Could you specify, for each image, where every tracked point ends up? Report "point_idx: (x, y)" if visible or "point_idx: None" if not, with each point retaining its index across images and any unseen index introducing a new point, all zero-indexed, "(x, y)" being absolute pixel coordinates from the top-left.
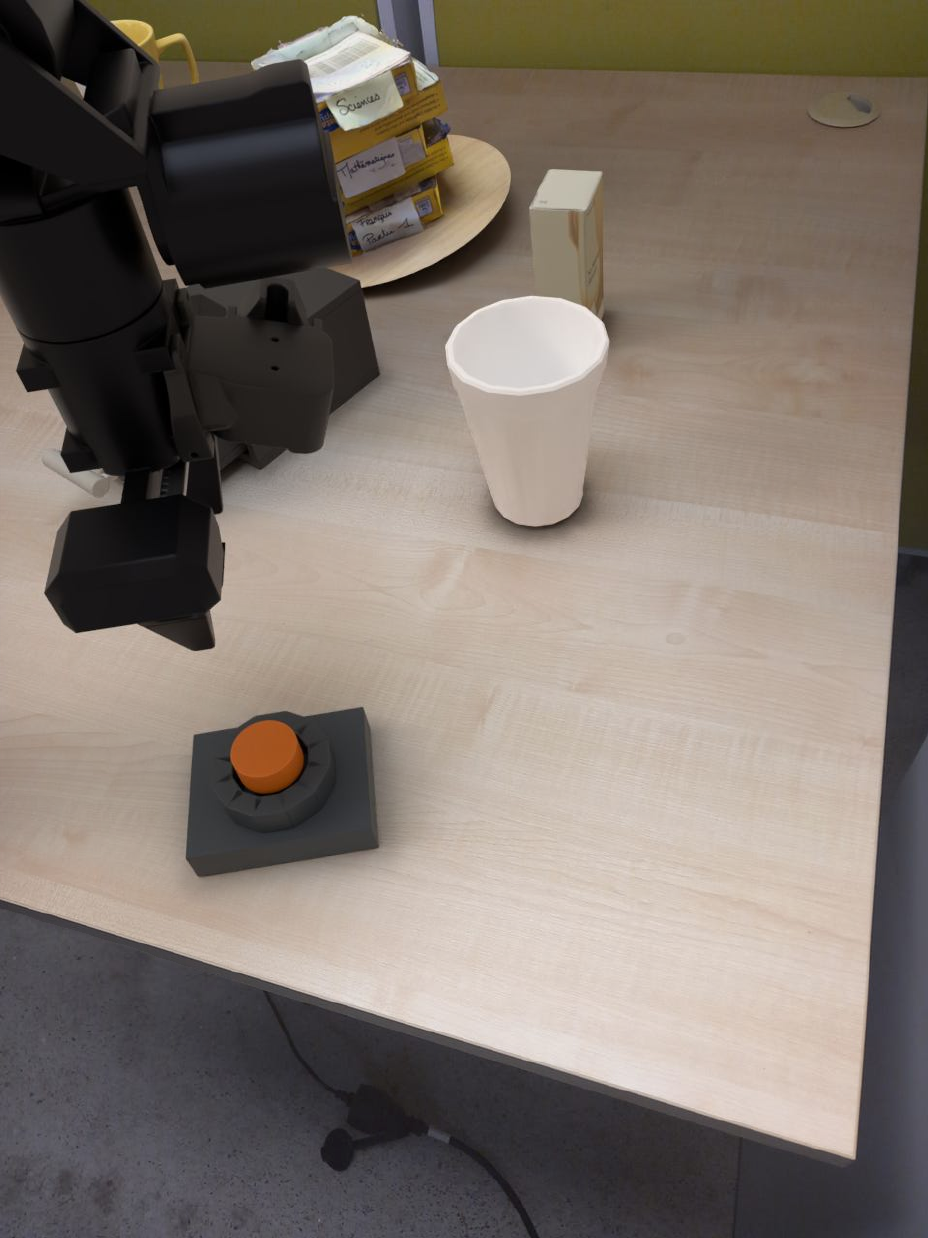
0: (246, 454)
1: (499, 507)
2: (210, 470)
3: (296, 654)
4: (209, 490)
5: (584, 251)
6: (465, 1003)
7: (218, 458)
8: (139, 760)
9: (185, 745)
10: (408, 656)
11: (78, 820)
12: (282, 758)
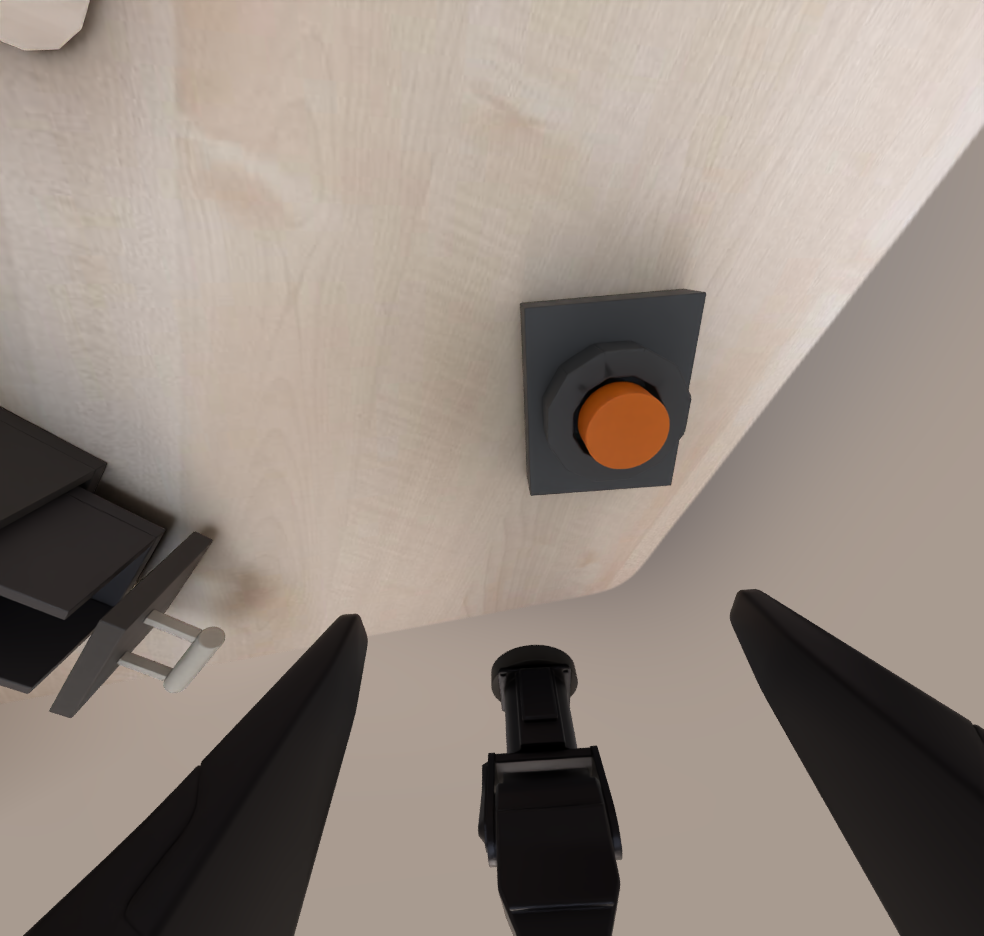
0: (87, 484)
1: (58, 28)
2: (296, 744)
3: (405, 398)
4: (335, 687)
5: None
6: (908, 177)
7: (238, 736)
8: (522, 527)
9: (512, 493)
10: (411, 248)
11: (572, 559)
12: (650, 409)
